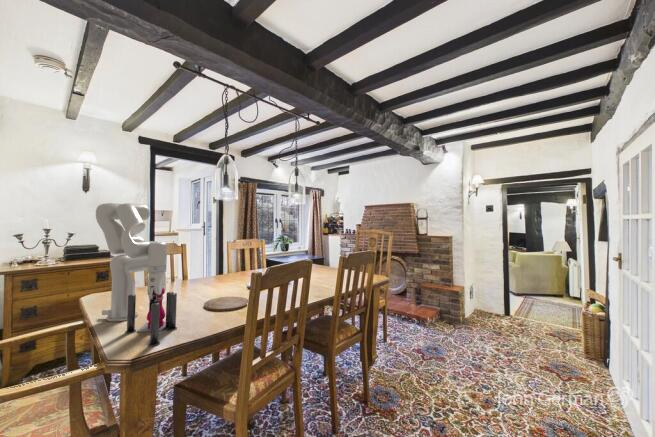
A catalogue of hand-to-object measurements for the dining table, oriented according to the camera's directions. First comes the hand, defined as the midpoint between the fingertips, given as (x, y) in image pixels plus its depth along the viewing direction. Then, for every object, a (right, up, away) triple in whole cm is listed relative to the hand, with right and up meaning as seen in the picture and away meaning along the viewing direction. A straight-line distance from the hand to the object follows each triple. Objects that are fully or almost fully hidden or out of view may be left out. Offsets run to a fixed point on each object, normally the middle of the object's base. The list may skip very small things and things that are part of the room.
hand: (155, 308), depth 125 cm
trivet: (+19, -11, +37) cm, 43 cm away
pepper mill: (0, -8, 0) cm, 8 cm away
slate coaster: (-1, -9, 0) cm, 9 cm away
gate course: (+2, -9, -10) cm, 13 cm away
